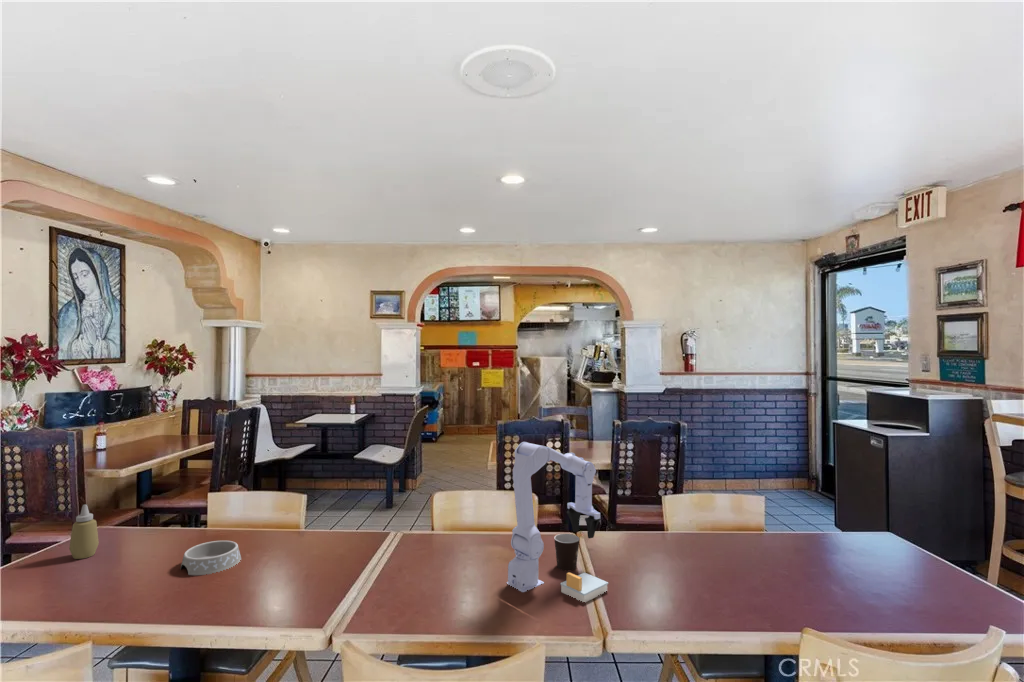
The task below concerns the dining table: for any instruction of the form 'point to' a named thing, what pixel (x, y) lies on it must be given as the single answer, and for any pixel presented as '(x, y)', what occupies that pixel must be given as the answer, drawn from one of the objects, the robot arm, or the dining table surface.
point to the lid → (583, 583)
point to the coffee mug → (566, 551)
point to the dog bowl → (211, 557)
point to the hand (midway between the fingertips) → (583, 534)
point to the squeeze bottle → (84, 535)
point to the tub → (581, 597)
